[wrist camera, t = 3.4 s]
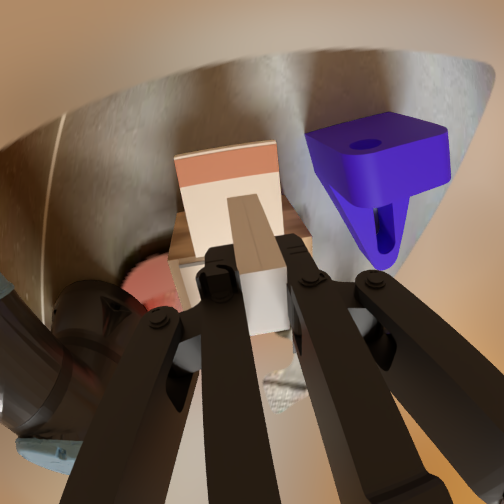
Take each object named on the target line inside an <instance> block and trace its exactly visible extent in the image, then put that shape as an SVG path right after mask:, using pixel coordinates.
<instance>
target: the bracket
mask: <svg viewBox="0 0 504 504" xmlns="http://www.w3.org/2000/svg"><path fill="white" fill-rule="evenodd" d="M305 138H306V141H307V145H308V149H309V152H310V156H311V160H312V163H313V167H314V171H315V173H316V175H317V177H318V178H319V180H320V181H321V183H322V185H323V186H324V188H325V190H326V191H327V193H328V195H329V196H330V198H331V200H332V201H333V203H334V205H335V206H336V208H337V210H338V211H339V213H340V215H341V217H342V218H343V220H344V222H345V224H346V225H347V227H348V229H349V231H350V233H351V234H352V236H353V238H354V240H355V242H356V243H357V245H358V247H359V249H360V250H361V252H362V253H363V254H364V255H365V257H366V258H367V259H368V260H369V261H370V263H371V264H372V265H373V266H374V268H375V269H377V270H386V269H388V268H389V267H391V266H392V265H393V264H394V263H395V261H396V259H397V257H398V253H399V248H400V244H401V239H402V235H403V230H404V225H405V220H406V215H407V209H408V204H409V198H410V196H413V195H416V194H419V193H422V192H424V191H427V190H430V189H433V188H435V187H438V186H441V185H444V184H446V183H448V182H449V181H450V179H451V168H450V152H449V140H448V130H447V128H446V127H444V126H441V125H438V124H434V123H431V122H427V121H424V120H420V119H416V118H413V117H409V116H405V115H401V114H397V113H392V112H386V113H382V114H377V115H373V116H369V117H365V118H361V119H357V120H353V121H349V122H345V123H341V124H337V125H334V126H330V127H326V128H323V129H319V130H316V131H312V132H309V133H306V134H305ZM373 208H377V209H378V217H379V226H380V228H379V232H378V233H377V235H376V229H375V221H374V213H373Z"/></svg>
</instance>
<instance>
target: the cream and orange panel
mask: <svg viewBox="0 0 504 504" xmlns="http://www.w3.org/2000/svg"><path fill="white" fill-rule="evenodd" d="M174 162H175V167H176V172H177V177H178V181H179V186H180V190H181V195H182V200H183V204H184V209H185V213H186V217H187V222H188V226H189V230H190V235H191V239H192V243H193V247H194V251H195V255H196V258H198V257H204V256H205V253H206V252H207V251H208V249H209V248H210V247H215V246H222V245H228V244H233V239H232V232H231V225H230V218H229V211H228V205H227V198H230V197H237V196H243V195H250V194H257V195H258V198H259V200H260V203H261V205H262V207H263V210H264V212H265V215H266V217H267V219H268V222H269V224H270V227H271V229H272V232H273V234H274V236H279V235H284V227H283V214H282V201H281V190H280V178H279V166H278V155H277V145H276V141H275V140H265V141H257V142H250V143H243V144H236V145H229V146H223V147H217V148H211V149H205V150H200V151H194V152H189V153H184V154H179V155H175V156H174Z"/></svg>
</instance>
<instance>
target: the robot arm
mask: <svg viewBox="0 0 504 504" xmlns="http://www.w3.org/2000/svg"><path fill="white" fill-rule="evenodd" d="M227 205H228V211H229V218H230V225H231V232H232V239H233V244H228V245H222V246H215V247H210V248H209V249H208V251H207V252H206V253H205V267H203V268H201V269H200V270H199V271H198V272H197V274H196V277H195V279H196V283H197V287H198V291H199V294H200V298H201V301H200V302H199V303H198V304H197V305H195V306H194V307H192V308H190V309H188V310H186V311H183V312H180V313H178V311H177V310H176V309H174V308H173V307H168V306H162V307H157V308H154V309H151V310H150V311H148V312H147V311H146V309H145V308H144V307H143V305H142V304H141V303H140V302H139V301H138V300H137V299H135V297H133V296H132V295H131V294H129V293H128V292H126V291H125V290H123V289H121V288H119V287H117V286H115V285H112V284H109V283H106V282H101V281H94V280H86V281H79V282H76V283H73V284H71V285H69V286H68V287H66V288H65V289H64V290H63V291H62V292H61V294H60V295H59V297H58V299H57V301H56V303H55V305H54V308H53V312H52V326H51V332H50V331H49V329H48V328H47V327H46V326H45V325H44V324H43V323H42V322H41V321H40V320H39V318H38V317H37V316H36V315H35V314H34V313H33V312H32V310H31V309H30V308H29V307H28V306H27V305H26V303H25V302H24V301H23V300H22V299H21V297H20V296H19V295H18V294H17V292H16V291H15V290H14V285H13V284H12V283H10V282H8V281H7V280H6V278H5V277H4V276H3V275H2V274H1V272H0V423H1V424H3V425H4V426H5V427H7V428H8V429H10V430H11V431H13V432H14V433H16V434H17V435H18V439H16V441H15V443H16V449H17V452H18V453H19V454H20V455H22V457H24V458H25V459H27V460H28V461H30V462H32V463H34V464H36V465H39V466H41V467H44V468H46V469H49V470H52V471H55V472H59V473H62V474H66V475H69V478H68V480H67V483H66V486H65V489H64V491H63V494H62V497H61V500H60V503H59V504H165V500H166V496H167V492H168V488H169V484H170V480H171V476H172V472H173V469H174V465H175V461H176V457H177V453H178V449H179V445H180V442H181V438H182V434H183V431H184V427H185V424H186V420H187V416H188V412H189V409H190V405H191V401H192V398H193V394H194V390H195V387H196V383H197V380H198V376H199V370H200V369H201V372H202V402H203V403H202V405H203V428H204V446H205V462H206V476H207V488H208V500H209V504H281V500H280V495H279V490H278V485H277V480H276V475H275V470H274V465H273V459H272V454H271V449H270V444H269V439H268V433H267V428H266V423H265V417H264V413H263V407H262V401H261V396H260V391H259V385H258V379H257V374H256V368H255V364H254V357H253V352H252V346H251V340H250V336H253V335H259V334H264V333H270V332H276V331H281V330H287V329H290V323H291V327H292V333H293V353H296V352H297V355H298V359H299V362H300V365H301V369H302V372H303V375H304V379H305V382H306V385H307V389H308V392H309V395H310V399H311V402H312V406H313V409H314V412H315V416H316V419H317V422H318V426H319V429H320V433H321V436H322V440H323V443H324V446H325V450H326V453H327V457H328V460H329V464H330V467H331V471H332V474H333V478H334V481H335V485H336V488H337V492H338V495H339V499H340V502H341V504H453V502H452V499H451V497H450V494H449V492H448V489H447V488H446V486H445V484H444V482H443V481H442V480H441V479H440V478H439V477H437V476H435V475H432V474H430V473H428V472H427V471H426V469H425V467H424V466H423V463H422V461H421V459H420V456H419V454H418V452H417V449H416V447H415V445H414V442H413V440H412V438H411V436H410V433H409V431H408V429H407V427H406V425H405V422H404V420H403V418H402V416H401V414H400V411H399V410H398V407H397V405H396V403H395V401H394V399H393V397H392V395H391V393H392V394H393V395H394V396H395V397H396V398H397V400H398V401H399V402H400V403H401V405H402V406H403V407H404V408H405V409H406V411H407V412H408V413H409V414H410V415H411V416H412V418H413V419H414V420H415V421H416V423H418V425H419V426H420V427H421V429H422V430H423V431H424V432H425V433H426V435H427V436H428V437H429V438H430V439H431V441H432V442H433V443H434V444H435V445H436V447H437V448H438V449H439V450H440V452H441V453H442V454H443V455H444V456H445V458H446V459H447V460H448V461H449V463H450V464H451V465H452V466H453V467H454V469H455V470H456V471H457V472H458V473H459V475H460V476H461V477H462V478H463V480H464V481H465V482H466V483H467V485H468V486H469V487H470V488H471V489H472V490H473V492H474V493H475V494H476V495H477V496H478V497H479V498H481V499H482V500H483V501H484V502H486V503H487V504H504V375H503V374H502V373H501V372H500V371H499V370H498V369H497V368H496V367H495V366H494V365H493V364H492V363H491V362H490V361H489V360H488V359H486V358H485V357H484V356H483V355H482V354H481V353H480V352H479V351H478V350H477V349H476V348H475V347H474V346H473V345H471V344H470V343H469V342H468V341H467V340H466V339H465V338H464V337H463V336H462V335H460V334H459V333H458V332H457V331H456V330H455V329H454V328H452V327H451V326H450V325H449V324H448V323H447V322H446V321H444V320H443V319H442V318H441V317H440V316H439V315H438V314H436V313H435V312H434V311H433V310H432V309H430V308H429V307H428V306H427V305H426V304H425V303H423V302H422V301H421V300H420V299H418V298H417V297H416V296H415V295H414V294H413V293H411V292H410V291H409V290H408V289H406V288H405V287H404V286H403V285H402V284H400V283H399V282H398V281H397V280H395V279H394V278H393V277H392V276H390V275H389V274H387V273H385V272H383V271H379V270H367V271H363V272H361V273H360V274H358V275H357V277H356V279H355V282H337V281H333V280H332V279H331V278H330V276H329V275H328V274H327V273H326V272H324V271H322V270H319V269H318V267H317V265H316V264H315V262H314V260H313V258H312V256H311V254H310V253H309V252H308V249H307V247H306V246H305V244H304V242H303V240H302V238H300V237H299V236H297V235H296V234H294V233H291V234H285V235H279V236H274V234H273V232H272V229H271V227H270V224H269V222H268V219H267V217H266V215H265V212H264V210H263V207H262V205H261V203H260V200H259V198H258V195H257V194H250V195H243V196H237V197H230V198H227ZM289 320H290V321H289Z"/></svg>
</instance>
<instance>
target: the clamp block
mask: <svg viewBox="0 0 504 504" xmlns="http://www.w3.org/2000/svg"><path fill="white" fill-rule="evenodd" d="M281 201H282V214H283V227H284V235H285V234H291V233H294V234H296V235H297V236H299V237H300V238H302V240H303V242H304V244H305V246H306V247H307V249H308V252H309V253H310V254H311V256H312V235H311V234H310V232H309V231H308V229H307V228H306V226H305V225H304V223H303V222H302V220H301V219H300V217H299V216H298V214H297V213H296V211H295V210H294V208H293V207H292V205H291V204H290V202H289V201H288V199H287V198H286V196H285V195H281ZM168 264H169V267H170V271H171V274H172V277H173V280H174V284H175V287H176V290H177V293H178V296H179V299H180V302H181V305H182V308H183V311H186V310H188V309H190V308H192V307H194V306H195V305H197V304H198V303H199V302H200V301H201V298H200V294H199V291H198V287H197V283H196V279H195V277H196V274H197V272H198V271H199V270H200V269H201V268H203V267H205V256H204V257H198V258H196V255H195V251H194V247H193V243H192V239H191V235H190V230H189V226H188V222H187V217H186V213H185V211H184V212H179V213H177V216H176V221H175V226H174V230H173V235H172V240H171V245H170V250H169V255H168ZM289 321H290V320H289Z"/></svg>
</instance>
